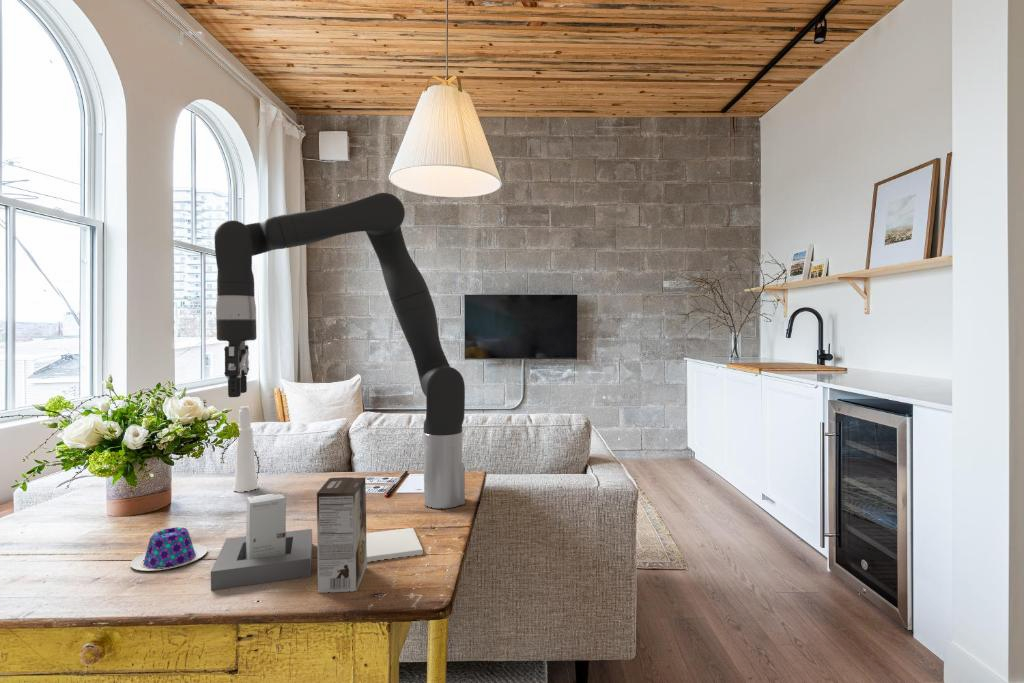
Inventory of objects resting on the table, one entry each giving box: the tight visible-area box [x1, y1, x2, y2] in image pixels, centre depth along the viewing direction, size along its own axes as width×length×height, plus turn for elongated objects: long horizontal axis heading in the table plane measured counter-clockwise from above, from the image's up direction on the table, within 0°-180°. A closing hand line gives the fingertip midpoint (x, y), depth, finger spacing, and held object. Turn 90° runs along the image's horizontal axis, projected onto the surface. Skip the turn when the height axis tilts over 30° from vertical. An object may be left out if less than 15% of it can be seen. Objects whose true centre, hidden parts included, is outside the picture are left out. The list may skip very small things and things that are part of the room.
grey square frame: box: [210, 528, 313, 591], centre depth 97 cm, size 15×15×3 cm
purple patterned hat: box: [129, 526, 208, 572], centre depth 100 cm, size 12×12×5 cm
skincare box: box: [245, 492, 287, 560], centre depth 97 cm, size 6×4×12 cm
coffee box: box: [316, 476, 368, 594], centre depth 91 cm, size 9×6×16 cm
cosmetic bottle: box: [232, 405, 259, 493], centre depth 145 cm, size 6×6×22 cm
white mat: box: [366, 527, 424, 563], centre depth 105 cm, size 12×12×1 cm
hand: (237, 394), depth 115 cm, fingers open, 8 cm apart
